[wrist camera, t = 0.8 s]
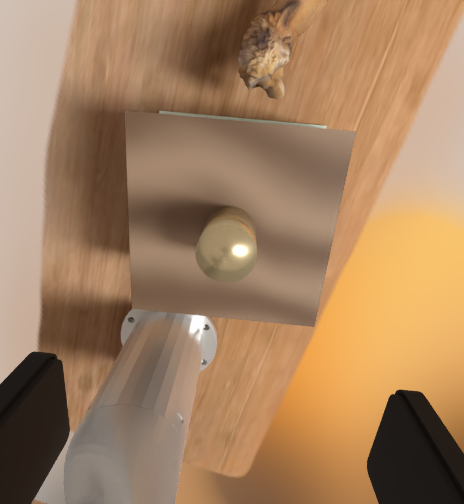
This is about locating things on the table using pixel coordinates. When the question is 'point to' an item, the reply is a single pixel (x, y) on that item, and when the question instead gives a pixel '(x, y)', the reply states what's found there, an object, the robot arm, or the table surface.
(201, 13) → the table surface
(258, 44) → the lion figurine
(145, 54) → the table surface
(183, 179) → the walnut cover
